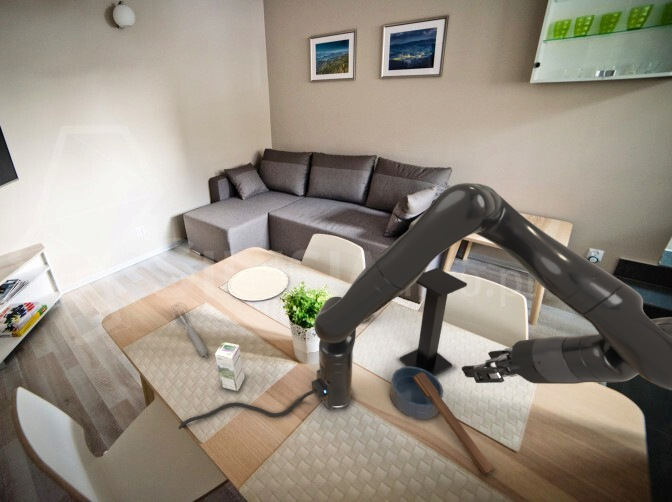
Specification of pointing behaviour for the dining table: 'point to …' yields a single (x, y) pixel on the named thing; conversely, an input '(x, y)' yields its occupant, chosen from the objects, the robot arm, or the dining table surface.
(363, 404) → the dining table surface
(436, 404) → the stirring paddle
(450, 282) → the stand
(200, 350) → the kitchen whisk
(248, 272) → the plate
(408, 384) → the bowl
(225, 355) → the syrup box
